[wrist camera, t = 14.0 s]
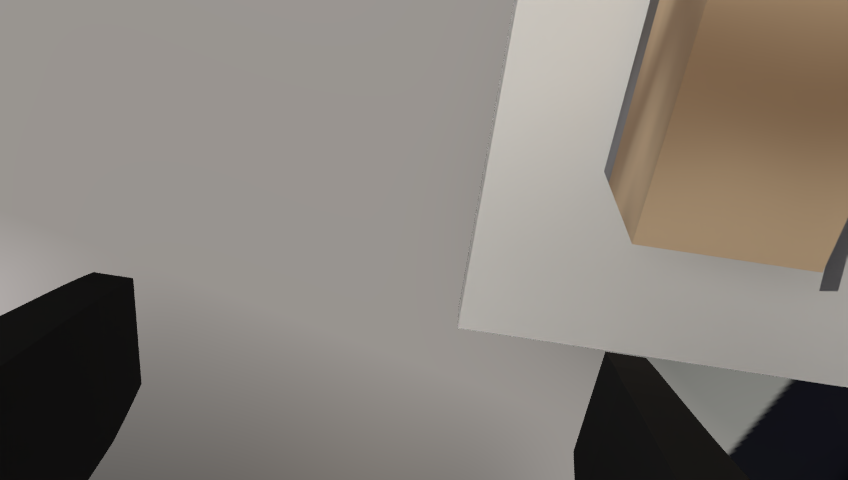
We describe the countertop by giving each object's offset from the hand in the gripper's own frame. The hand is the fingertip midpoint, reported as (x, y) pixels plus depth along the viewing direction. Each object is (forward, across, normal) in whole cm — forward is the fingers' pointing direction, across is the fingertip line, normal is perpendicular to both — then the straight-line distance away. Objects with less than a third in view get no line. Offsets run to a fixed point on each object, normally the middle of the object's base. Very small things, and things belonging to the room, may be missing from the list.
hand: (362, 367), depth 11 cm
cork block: (+9, -7, -4) cm, 12 cm away
